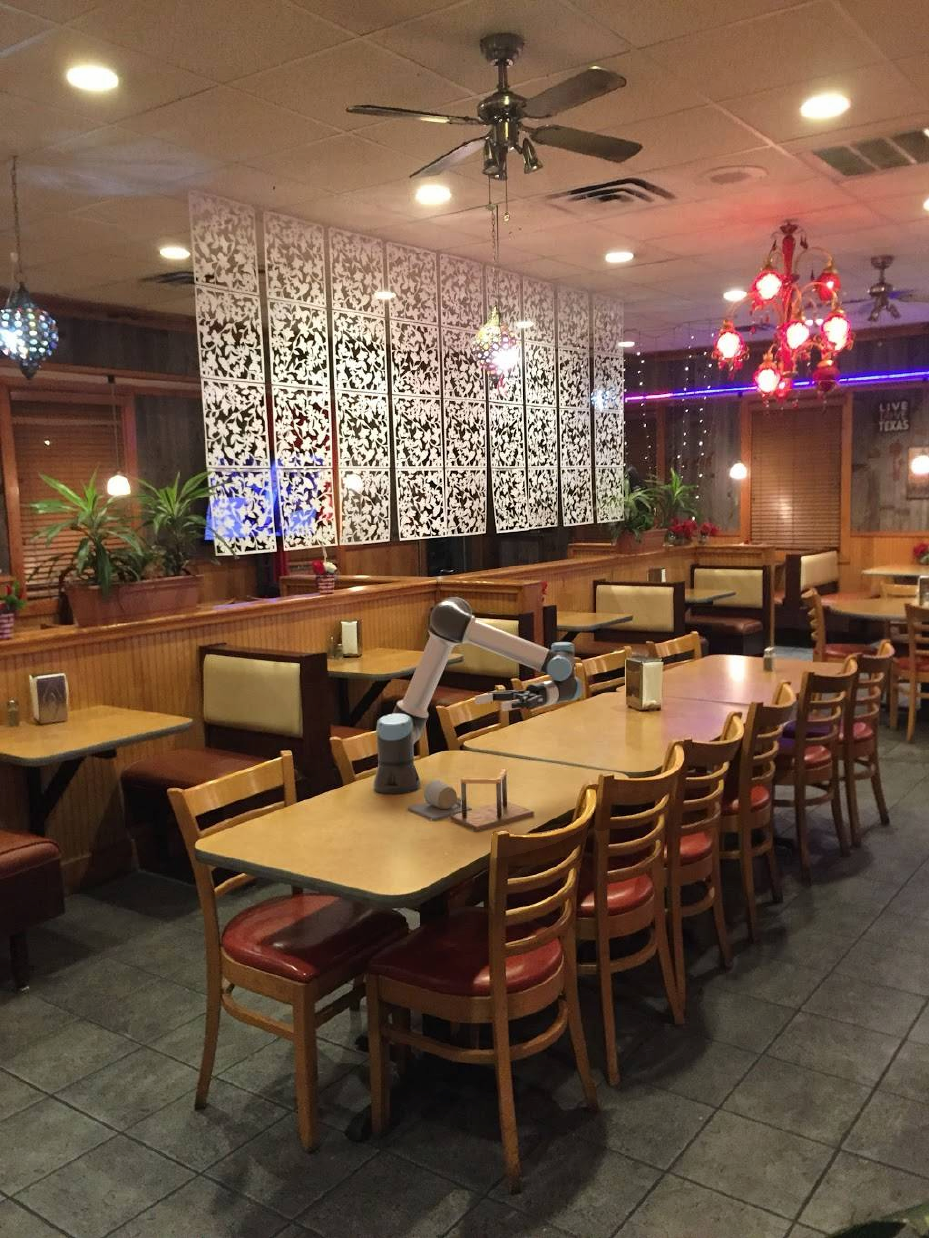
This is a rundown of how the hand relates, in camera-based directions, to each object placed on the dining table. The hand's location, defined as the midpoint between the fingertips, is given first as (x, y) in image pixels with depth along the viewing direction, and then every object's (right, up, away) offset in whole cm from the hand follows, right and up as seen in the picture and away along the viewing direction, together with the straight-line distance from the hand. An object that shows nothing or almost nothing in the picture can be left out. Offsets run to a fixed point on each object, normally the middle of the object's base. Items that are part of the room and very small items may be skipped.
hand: (488, 703), depth 309 cm
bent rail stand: (+1, -32, -17) cm, 36 cm away
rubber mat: (-15, -32, -8) cm, 36 cm away
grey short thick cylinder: (-14, -31, -6) cm, 34 cm away
